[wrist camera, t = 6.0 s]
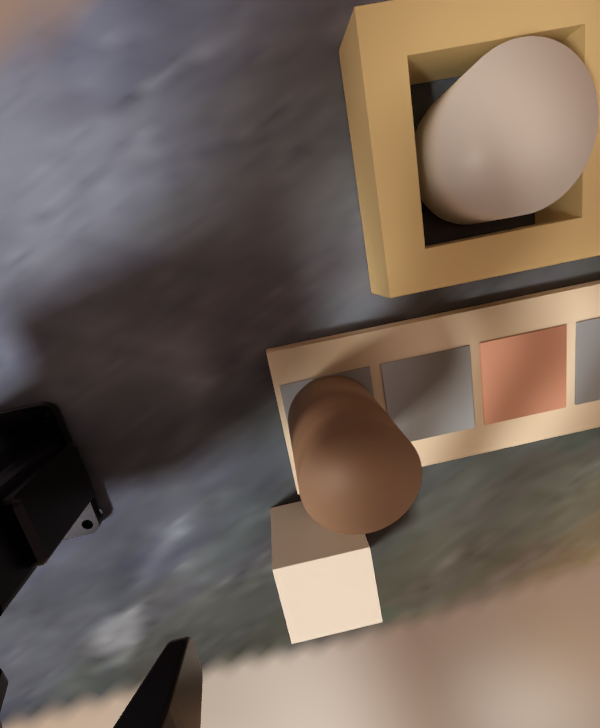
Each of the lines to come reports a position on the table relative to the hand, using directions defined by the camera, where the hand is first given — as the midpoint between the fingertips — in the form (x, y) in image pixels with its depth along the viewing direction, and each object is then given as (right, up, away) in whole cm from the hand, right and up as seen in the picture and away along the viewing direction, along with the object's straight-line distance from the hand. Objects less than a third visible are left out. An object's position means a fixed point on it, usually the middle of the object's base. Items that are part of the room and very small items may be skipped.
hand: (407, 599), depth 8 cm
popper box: (+4, +13, +8) cm, 16 cm away
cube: (-1, -4, +12) cm, 12 cm away
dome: (+4, +13, +7) cm, 15 cm away
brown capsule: (-1, +2, +9) cm, 9 cm away
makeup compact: (+6, +4, +10) cm, 12 cm away
